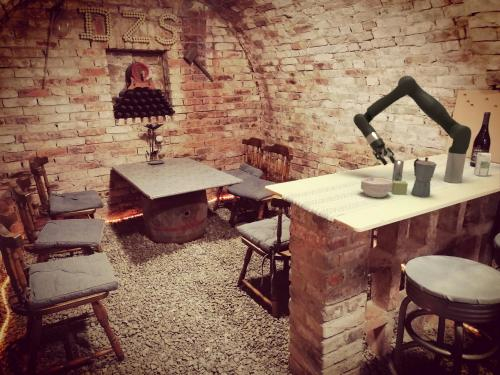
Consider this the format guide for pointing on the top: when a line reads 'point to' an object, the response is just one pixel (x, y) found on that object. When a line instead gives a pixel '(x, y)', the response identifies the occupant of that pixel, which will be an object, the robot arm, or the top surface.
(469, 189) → the top surface
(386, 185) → the paper bowls
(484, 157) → the syrup box
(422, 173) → the moka pot
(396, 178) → the flanged base cylinder
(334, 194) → the top surface
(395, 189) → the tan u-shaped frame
